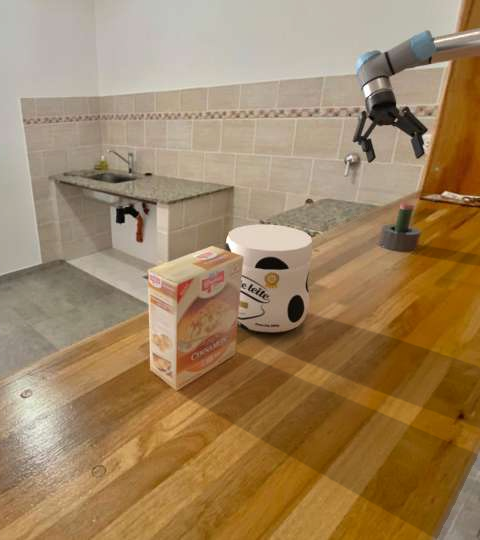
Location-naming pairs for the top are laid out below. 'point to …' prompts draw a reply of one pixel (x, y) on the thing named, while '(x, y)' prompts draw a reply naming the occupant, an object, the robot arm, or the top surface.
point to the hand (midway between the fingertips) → (396, 158)
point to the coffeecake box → (193, 314)
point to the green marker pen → (404, 217)
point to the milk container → (272, 276)
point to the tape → (399, 238)
